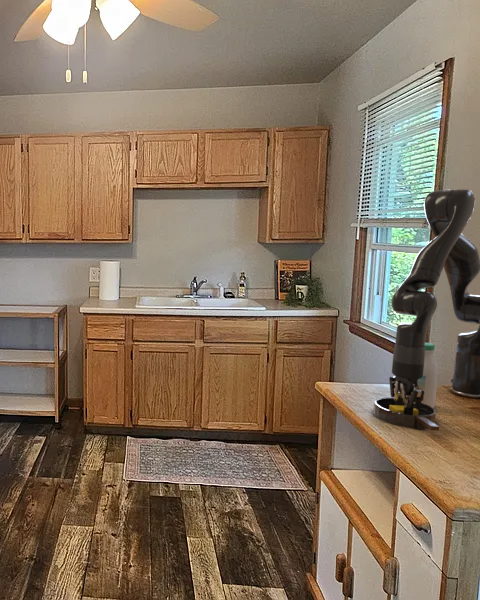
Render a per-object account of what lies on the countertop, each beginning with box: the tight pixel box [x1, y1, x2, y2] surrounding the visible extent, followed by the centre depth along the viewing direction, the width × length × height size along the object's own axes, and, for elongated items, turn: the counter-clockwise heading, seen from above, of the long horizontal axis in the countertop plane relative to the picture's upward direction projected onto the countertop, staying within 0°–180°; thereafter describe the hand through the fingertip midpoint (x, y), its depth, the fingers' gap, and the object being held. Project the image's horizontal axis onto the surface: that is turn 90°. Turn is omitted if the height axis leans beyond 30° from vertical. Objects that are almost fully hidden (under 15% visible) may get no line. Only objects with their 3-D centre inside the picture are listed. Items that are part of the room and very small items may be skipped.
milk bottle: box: [406, 342, 439, 409], centre depth 154 cm, size 8×8×20 cm
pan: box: [372, 396, 437, 429], centre depth 146 cm, size 15×15×4 cm
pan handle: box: [414, 416, 440, 432], centre depth 135 cm, size 7×2×3 cm, turn 175°
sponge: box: [389, 405, 418, 415], centre depth 144 cm, size 6×4×3 cm, turn 85°
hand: (403, 416), depth 145 cm, fingers closed on sponge, 4 cm apart
